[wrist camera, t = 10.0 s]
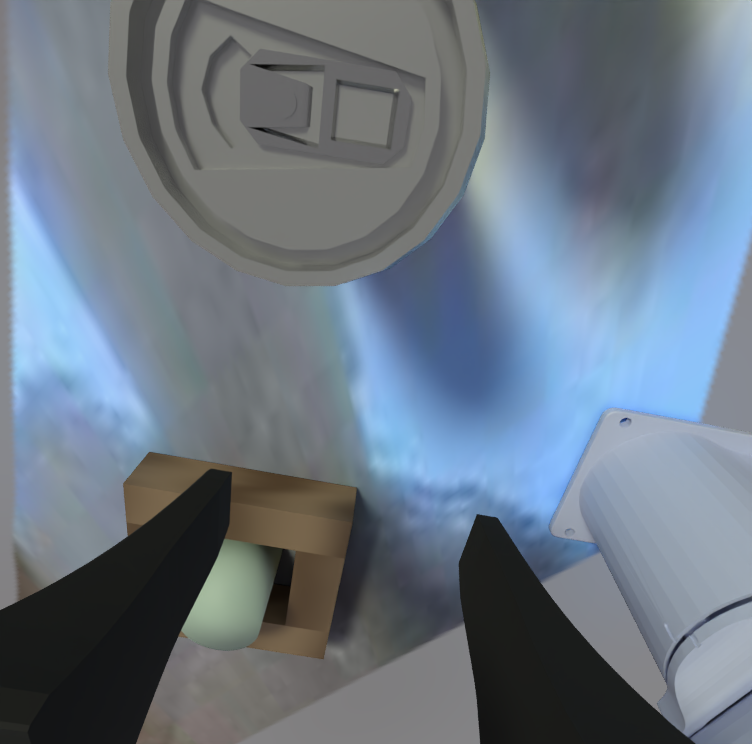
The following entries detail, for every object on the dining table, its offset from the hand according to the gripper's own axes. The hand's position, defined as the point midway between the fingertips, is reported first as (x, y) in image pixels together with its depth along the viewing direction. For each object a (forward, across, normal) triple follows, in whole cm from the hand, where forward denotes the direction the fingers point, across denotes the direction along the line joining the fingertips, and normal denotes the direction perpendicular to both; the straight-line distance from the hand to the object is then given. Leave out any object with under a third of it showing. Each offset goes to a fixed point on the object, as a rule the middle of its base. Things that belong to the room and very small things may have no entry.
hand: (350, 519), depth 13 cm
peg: (+9, +5, +12) cm, 16 cm away
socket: (+9, +5, +12) cm, 16 cm away
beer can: (+9, +2, -10) cm, 14 cm away
